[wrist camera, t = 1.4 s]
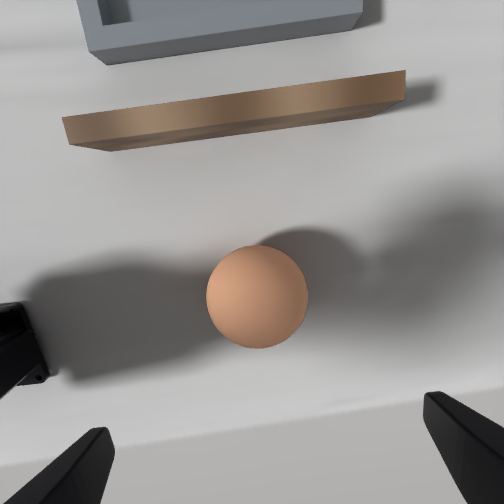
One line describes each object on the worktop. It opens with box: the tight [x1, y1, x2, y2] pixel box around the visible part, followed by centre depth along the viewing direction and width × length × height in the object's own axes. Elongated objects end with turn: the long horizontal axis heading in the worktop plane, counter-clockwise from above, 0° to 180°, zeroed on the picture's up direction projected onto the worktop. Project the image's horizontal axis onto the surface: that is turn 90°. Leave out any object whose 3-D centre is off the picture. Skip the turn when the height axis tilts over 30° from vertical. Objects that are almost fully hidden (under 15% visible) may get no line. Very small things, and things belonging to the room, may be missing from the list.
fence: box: [62, 70, 406, 152], centre depth 15 cm, size 16×1×4 cm, turn 97°
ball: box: [206, 245, 308, 348], centre depth 16 cm, size 6×6×6 cm
